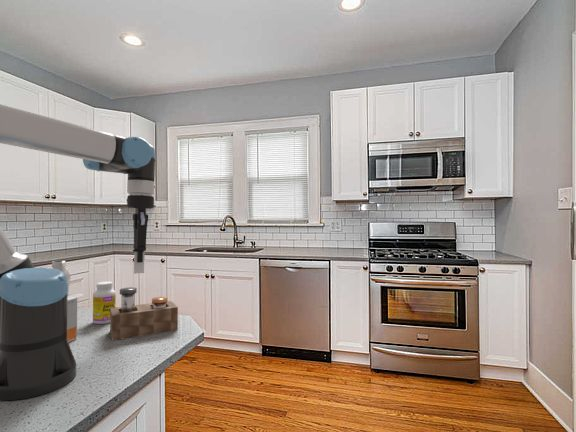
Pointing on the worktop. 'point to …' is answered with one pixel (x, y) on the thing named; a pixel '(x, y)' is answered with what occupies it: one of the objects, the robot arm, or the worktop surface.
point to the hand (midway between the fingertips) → (138, 272)
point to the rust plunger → (159, 302)
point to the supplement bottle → (103, 302)
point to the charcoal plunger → (128, 299)
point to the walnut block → (143, 320)
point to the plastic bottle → (61, 266)
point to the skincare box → (71, 318)
